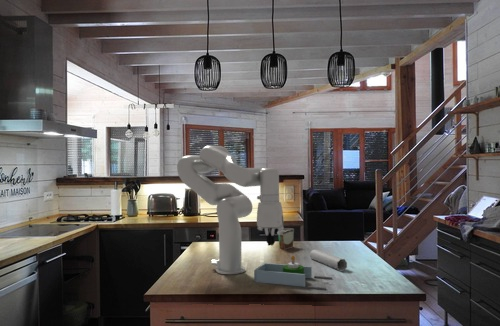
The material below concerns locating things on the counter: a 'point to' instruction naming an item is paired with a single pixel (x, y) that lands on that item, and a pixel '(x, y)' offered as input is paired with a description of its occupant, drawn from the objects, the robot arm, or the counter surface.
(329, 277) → the strips
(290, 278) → the pale blue tray
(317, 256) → the tube
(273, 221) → the robot arm
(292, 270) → the candle
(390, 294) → the counter surface
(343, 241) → the counter surface
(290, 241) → the food container
